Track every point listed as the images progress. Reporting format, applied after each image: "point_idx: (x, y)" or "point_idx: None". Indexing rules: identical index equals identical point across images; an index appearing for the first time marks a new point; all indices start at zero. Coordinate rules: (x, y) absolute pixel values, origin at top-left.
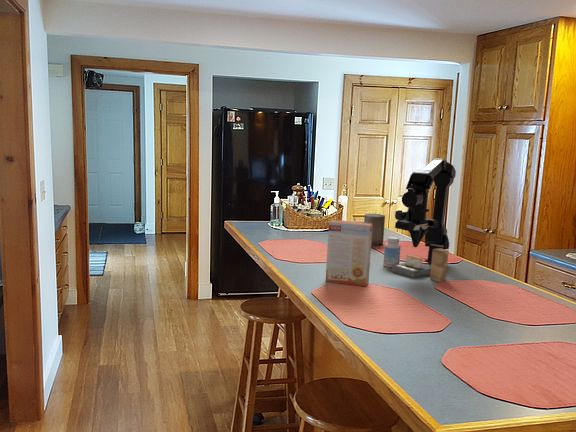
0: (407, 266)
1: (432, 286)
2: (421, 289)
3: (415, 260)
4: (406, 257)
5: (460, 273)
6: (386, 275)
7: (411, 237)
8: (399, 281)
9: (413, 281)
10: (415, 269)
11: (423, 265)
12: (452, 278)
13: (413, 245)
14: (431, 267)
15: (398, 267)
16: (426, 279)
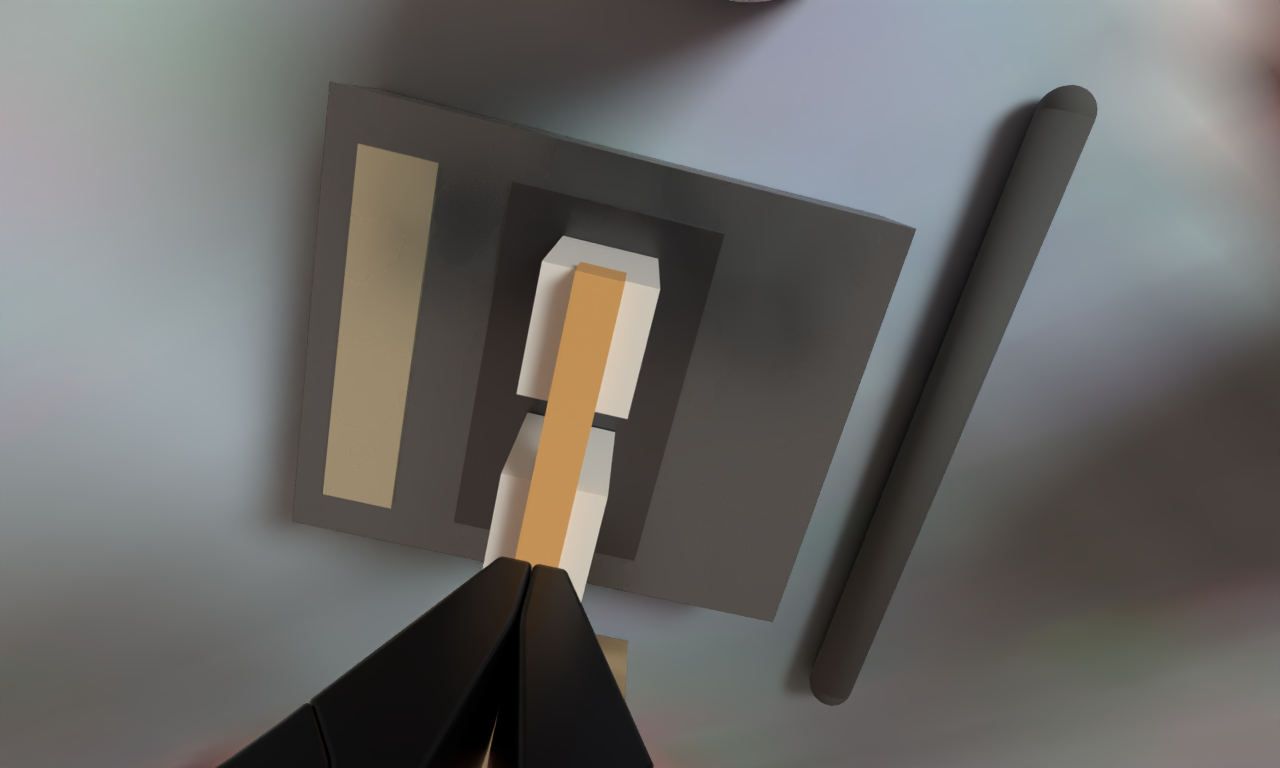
0: (490, 321)
1: (227, 739)
2: (15, 710)
3: (500, 493)
4: (541, 281)
5: (1056, 747)
6: (104, 144)
7: (270, 742)
8: (31, 424)
9: (205, 536)
10: (421, 491)
11: (784, 466)
12: (738, 761)
13: (480, 579)
14: None
15: (320, 229)
16: (435, 599)
